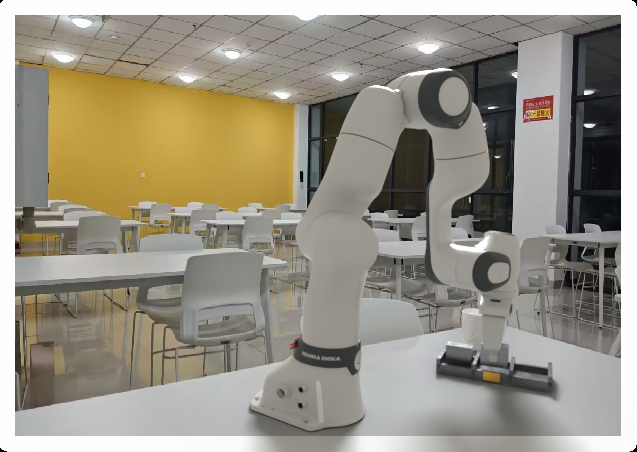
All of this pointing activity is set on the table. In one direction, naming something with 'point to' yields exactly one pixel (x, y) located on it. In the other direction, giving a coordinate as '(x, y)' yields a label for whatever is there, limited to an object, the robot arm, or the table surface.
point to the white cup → (472, 328)
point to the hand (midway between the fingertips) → (494, 358)
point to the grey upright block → (502, 357)
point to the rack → (492, 369)
